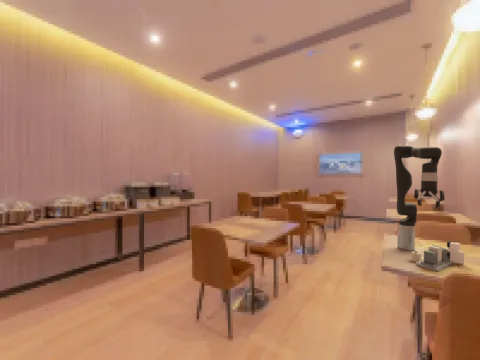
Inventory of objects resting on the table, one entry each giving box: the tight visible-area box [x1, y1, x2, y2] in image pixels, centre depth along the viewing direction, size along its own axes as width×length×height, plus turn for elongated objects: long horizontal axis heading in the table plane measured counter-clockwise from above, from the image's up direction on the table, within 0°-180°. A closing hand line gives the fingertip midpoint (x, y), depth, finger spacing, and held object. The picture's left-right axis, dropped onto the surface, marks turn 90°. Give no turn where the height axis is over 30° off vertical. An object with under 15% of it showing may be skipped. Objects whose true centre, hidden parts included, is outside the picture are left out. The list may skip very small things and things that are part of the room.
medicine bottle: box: [445, 240, 465, 265], centre depth 138 cm, size 7×7×12 cm
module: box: [428, 244, 443, 262], centre depth 133 cm, size 4×5×8 cm
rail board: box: [415, 247, 455, 272], centre depth 133 cm, size 10×22×9 cm, turn 118°
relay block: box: [410, 250, 422, 263], centre depth 139 cm, size 4×4×6 cm
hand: (428, 206), depth 136 cm, fingers open, 8 cm apart
